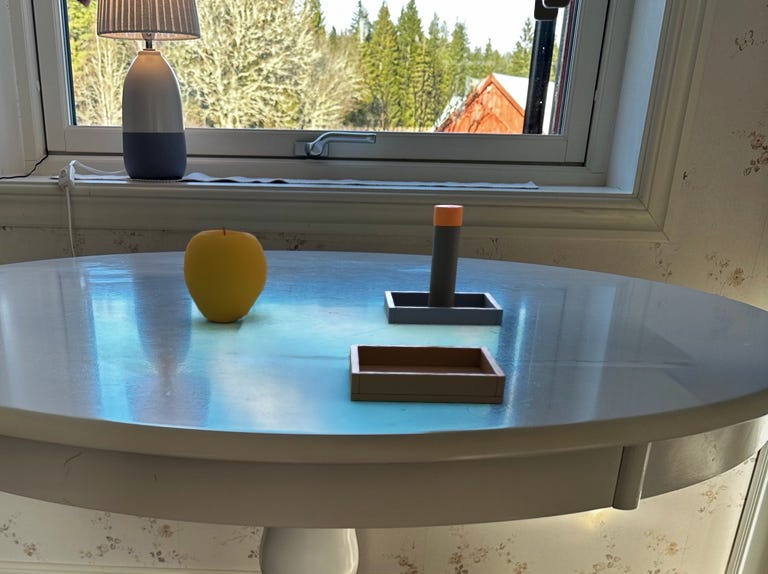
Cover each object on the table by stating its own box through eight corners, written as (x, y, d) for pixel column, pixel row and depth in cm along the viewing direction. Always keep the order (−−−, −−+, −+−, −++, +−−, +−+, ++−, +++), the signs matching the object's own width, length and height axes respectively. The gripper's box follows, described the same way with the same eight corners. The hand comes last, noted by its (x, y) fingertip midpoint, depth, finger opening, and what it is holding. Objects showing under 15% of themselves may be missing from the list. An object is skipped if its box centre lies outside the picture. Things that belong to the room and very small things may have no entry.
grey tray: (487, 312, 103) (489, 292, 102) (501, 330, 94) (503, 309, 93) (383, 310, 104) (384, 291, 103) (387, 328, 95) (389, 307, 94)
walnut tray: (484, 371, 79) (487, 346, 78) (503, 403, 70) (506, 376, 69) (349, 368, 79) (350, 344, 78) (350, 400, 70) (351, 373, 70)
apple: (285, 321, 98) (285, 227, 93) (217, 331, 93) (214, 233, 89) (235, 309, 103) (234, 220, 99) (169, 318, 99) (164, 225, 94)
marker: (452, 312, 100) (461, 205, 95) (455, 317, 98) (464, 207, 93) (425, 312, 100) (433, 204, 95) (427, 317, 98) (435, 207, 93)
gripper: (639, -258, 71) (606, 2, 78) (607, -196, 84) (581, 23, 91) (536, -253, 72) (513, 4, 79) (520, -192, 84) (501, 24, 92)
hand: (550, 14), depth 85 cm, fingers open, 8 cm apart
